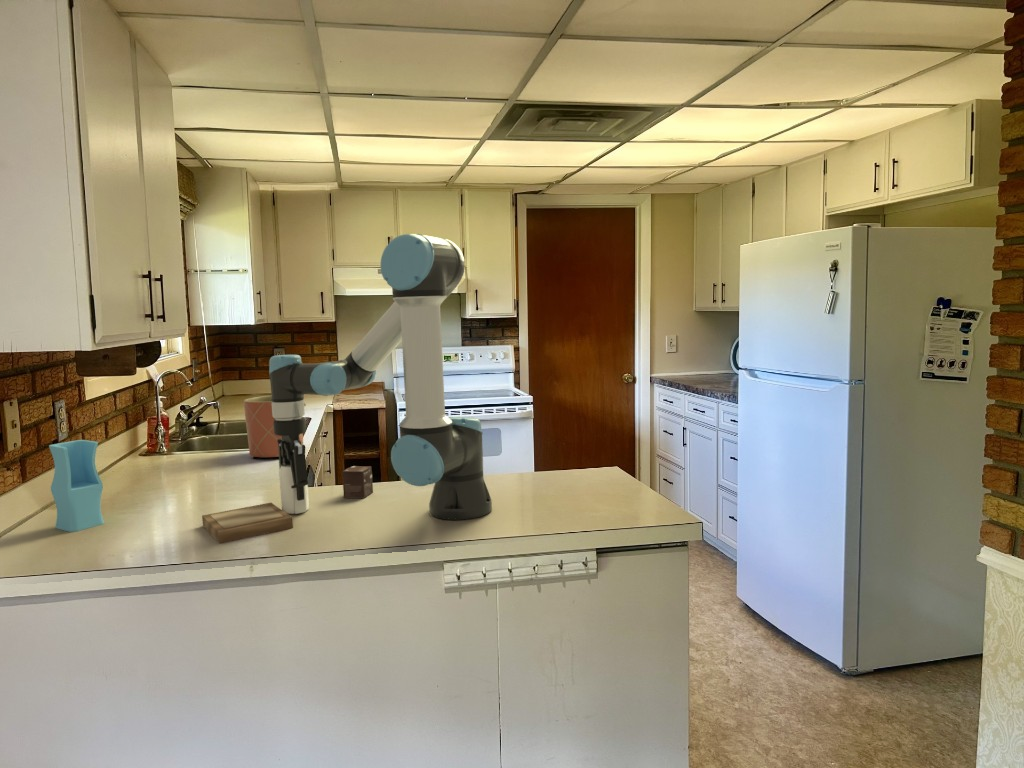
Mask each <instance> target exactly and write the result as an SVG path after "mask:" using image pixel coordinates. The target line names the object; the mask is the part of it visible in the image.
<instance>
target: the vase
mask: <svg viewBox="0 0 1024 768" xmlns="http://www.w3.org/2000/svg"><path fill="white" fill-rule="evenodd" d="M98 445H99V442H98V441H95V440H94V441H93V440H87V439H76V440H71V441H65V442H59V443H54V444H53V443H52V444H49V445H48V447H49V450H50V453H51V455H52V459H53V463H54V473H53V479H52V482H51V485H50V492H51V495H52V496H53V497H52V498H53V500H54V503H55V507H56V522H55V529H58V530H61V531H65V532H69V533H73V532H79V531H84V530H86V529H87V530H88V529H90V528H93V527H97V526H102V525H104V524H105V522H104V518H103V515H102V510H101V501H102V492H103V489H104V485H103V484H104V483H103V481H102V479H101V477H100V475H99V473H98V470H97V468H96V467H97V465H96V454H97V453H96V452H97V449H98Z"/></svg>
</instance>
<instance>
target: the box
mask: <svg viewBox="0 0 1024 768" xmlns="http://www.w3.org/2000/svg"><path fill="white" fill-rule="evenodd" d="M372 469H373V468H372V466H371V465H369V466H363V465H362V466H359V465H353V466H352V465H351V466H350V467H347V468H346V469H344V470H342V471H341V472H342V475H341V476H342V488H343V489H342V490H343V498H344V499H347V498H348V499H365V498H367V497H368V496H370V495H372V494H373V493H374V487H373V486H374V483H373V471H372Z"/></svg>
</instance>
